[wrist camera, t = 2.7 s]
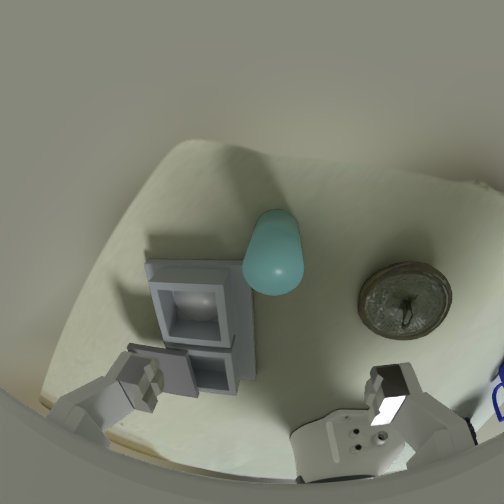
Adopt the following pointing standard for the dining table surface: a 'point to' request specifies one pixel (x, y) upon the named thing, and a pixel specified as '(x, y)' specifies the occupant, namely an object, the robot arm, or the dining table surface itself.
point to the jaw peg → (274, 254)
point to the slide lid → (171, 369)
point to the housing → (206, 318)
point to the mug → (503, 377)
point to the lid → (405, 300)
